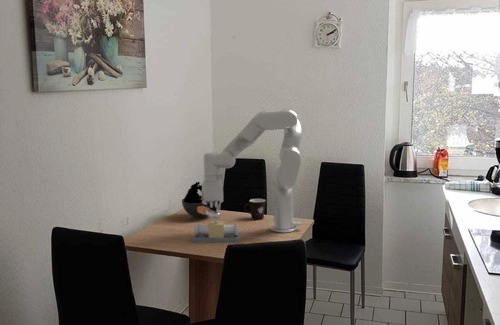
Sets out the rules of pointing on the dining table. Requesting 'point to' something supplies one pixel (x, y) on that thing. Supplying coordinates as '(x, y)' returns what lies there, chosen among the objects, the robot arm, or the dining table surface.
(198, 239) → the valve base
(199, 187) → the bowl of black rocks
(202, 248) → the dining table surface
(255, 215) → the coffee mug
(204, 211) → the valve lever
